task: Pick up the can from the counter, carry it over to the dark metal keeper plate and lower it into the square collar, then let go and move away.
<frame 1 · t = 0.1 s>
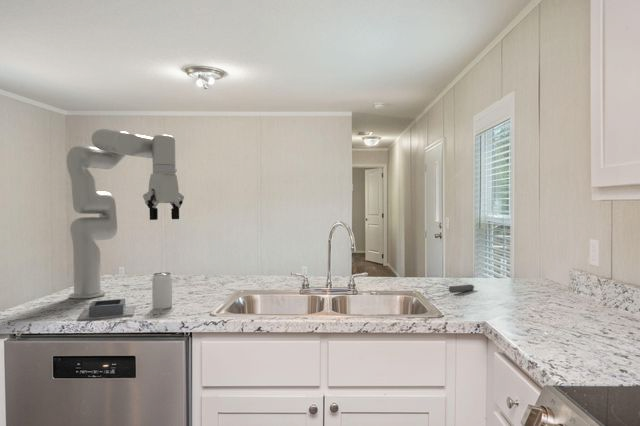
hand: (164, 219, 149), 31 cm above the worktop, tool pointing down, fingers open, 9 cm apart
can: (162, 308, 149), on the worktop
kitchen whisk: (450, 295, 169), on the worktop
keeper: (108, 313, 142), on the worktop
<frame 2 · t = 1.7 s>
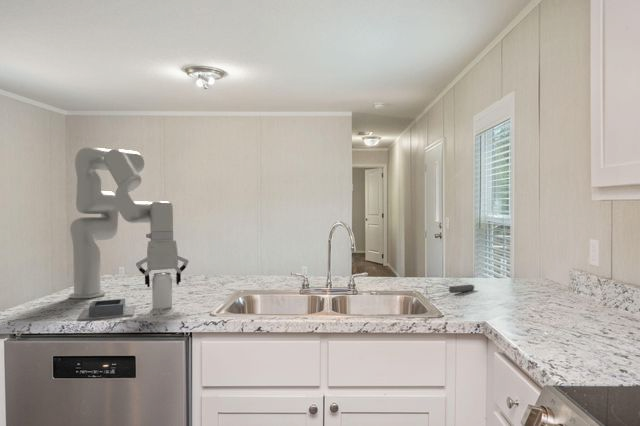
hand: (163, 285, 149), 8 cm above the worktop, tool pointing down, fingers open, 9 cm apart
nothing on the worktop moved.
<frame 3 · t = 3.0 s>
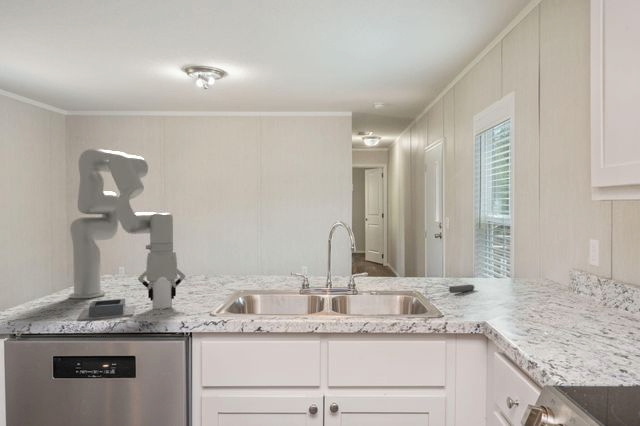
hand: (162, 298, 149), 3 cm above the worktop, tool pointing down, fingers closed on can, 6 cm apart
can: (162, 308, 149), on the worktop, touching gripper
everything else where it was.
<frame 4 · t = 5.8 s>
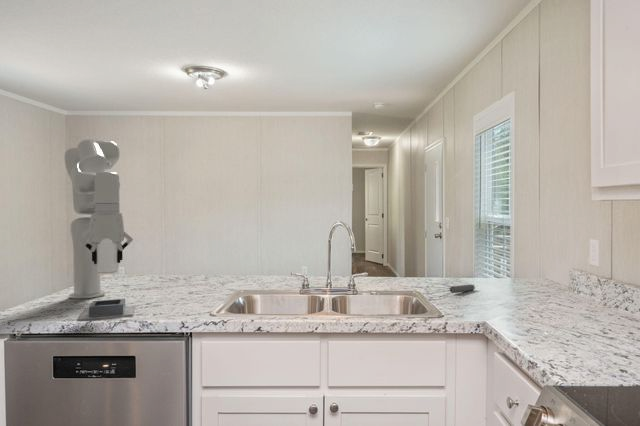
hand: (107, 262, 141), 17 cm above the worktop, tool pointing down, fingers closed on can, 6 cm apart
can: (107, 272, 141), point 14 cm above the worktop, touching gripper
everything else where it was.
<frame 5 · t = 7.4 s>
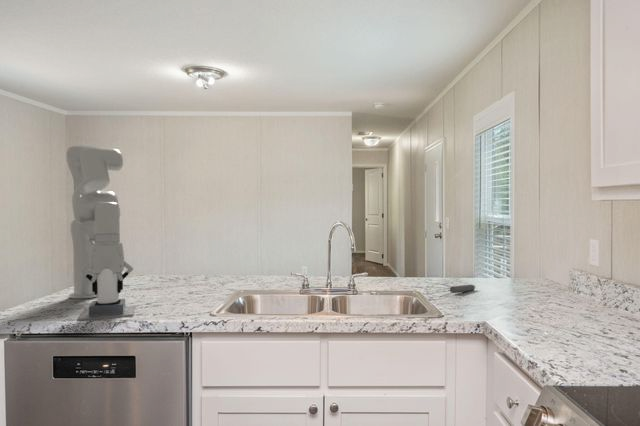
hand: (107, 292, 141), 7 cm above the worktop, tool pointing down, fingers closed on can, 6 cm apart
can: (108, 302, 141), point 4 cm above the worktop, touching gripper
everything else where it was.
when the fingers open (5 cm above the worktop, at t = 8.7 s): can drops 1 cm, resting on keeper.
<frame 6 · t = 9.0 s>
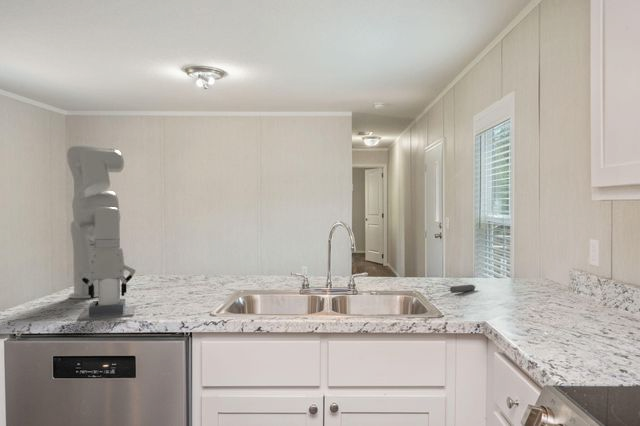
hand: (107, 296, 142), 6 cm above the worktop, tool pointing down, fingers open, 8 cm apart
can: (109, 311, 142), resting on keeper
everything else where it was.
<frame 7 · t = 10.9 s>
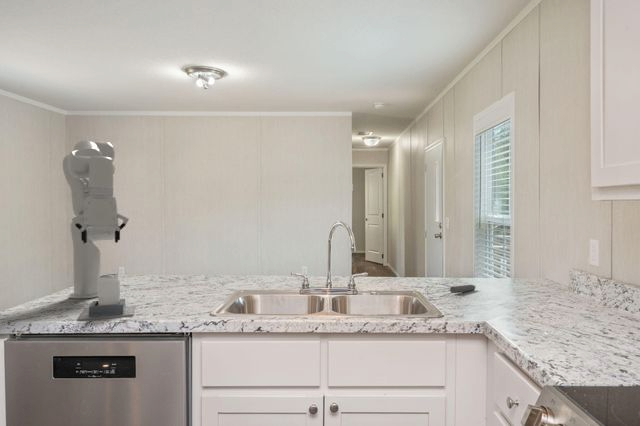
hand: (101, 242, 147), 23 cm above the worktop, tool pointing down, fingers open, 9 cm apart
nothing on the worktop moved.
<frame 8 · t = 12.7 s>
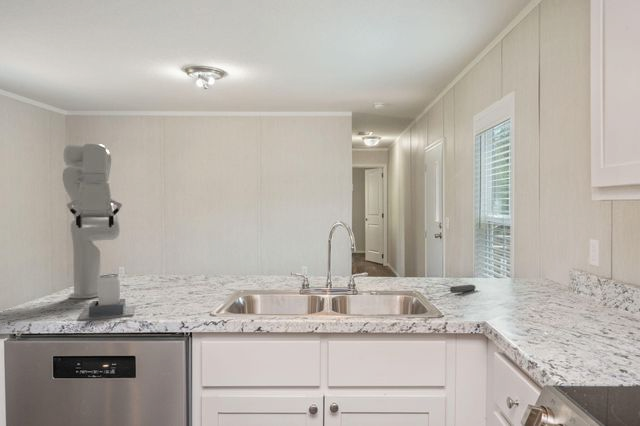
hand: (95, 227, 151), 28 cm above the worktop, tool pointing down, fingers open, 9 cm apart
nothing on the worktop moved.
at the end: can 0.4 cm off-centre on the keeper, point 0.4 cm above the keeper's base; can tilted 0°; the gripper is holding nothing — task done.
